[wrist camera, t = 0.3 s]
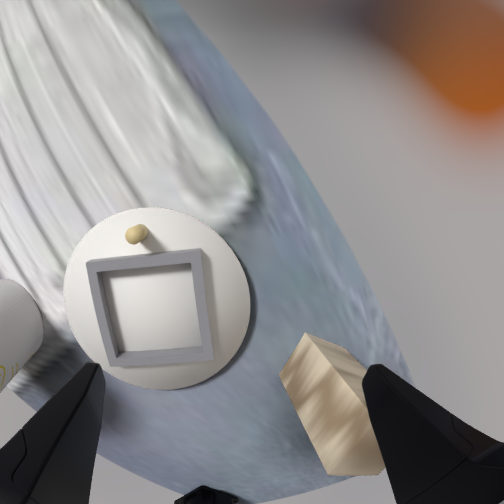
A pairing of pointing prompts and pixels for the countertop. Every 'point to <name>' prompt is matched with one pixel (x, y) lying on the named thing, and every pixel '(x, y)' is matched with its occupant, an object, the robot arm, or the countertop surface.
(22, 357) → the cup
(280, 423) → the countertop surface
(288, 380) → the birch block
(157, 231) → the locating plate
